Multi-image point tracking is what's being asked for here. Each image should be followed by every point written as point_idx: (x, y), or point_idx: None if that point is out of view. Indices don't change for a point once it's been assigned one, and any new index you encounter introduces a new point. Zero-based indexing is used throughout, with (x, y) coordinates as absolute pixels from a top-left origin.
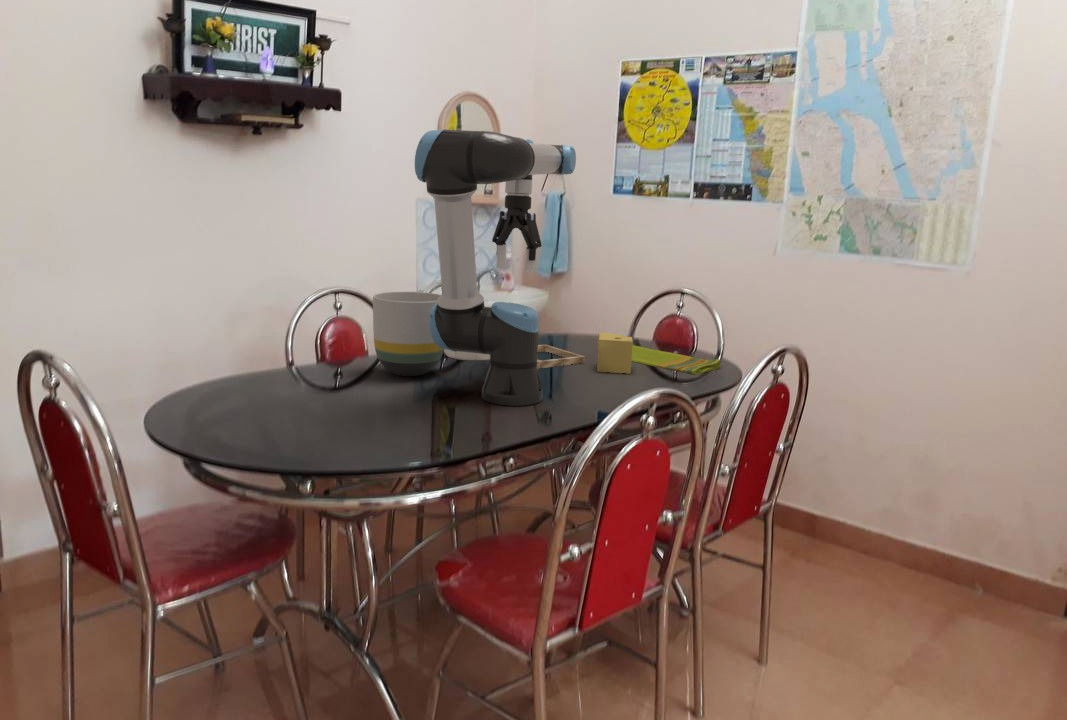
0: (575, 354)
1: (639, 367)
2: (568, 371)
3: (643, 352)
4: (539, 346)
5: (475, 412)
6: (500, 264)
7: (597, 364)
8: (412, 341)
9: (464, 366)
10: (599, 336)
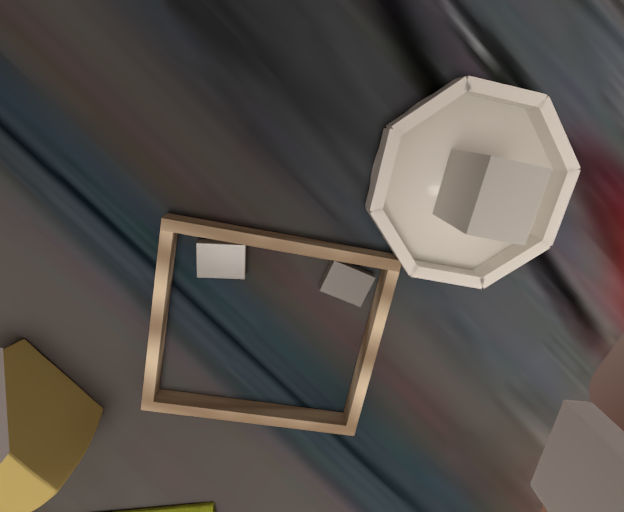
0: (182, 407)
1: None
2: (81, 272)
3: None
4: (350, 405)
5: None
6: (577, 455)
7: (5, 348)
8: None
9: (348, 21)
10: None
